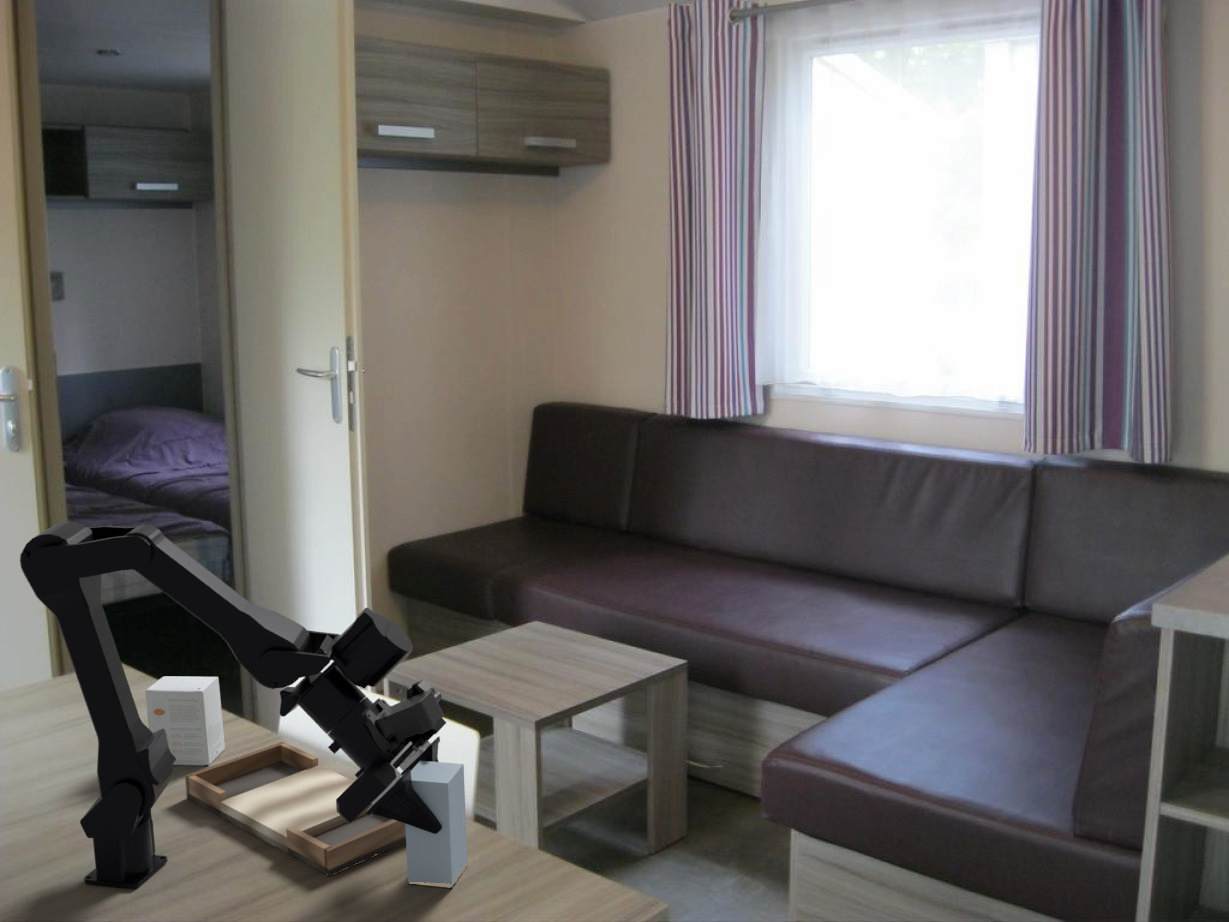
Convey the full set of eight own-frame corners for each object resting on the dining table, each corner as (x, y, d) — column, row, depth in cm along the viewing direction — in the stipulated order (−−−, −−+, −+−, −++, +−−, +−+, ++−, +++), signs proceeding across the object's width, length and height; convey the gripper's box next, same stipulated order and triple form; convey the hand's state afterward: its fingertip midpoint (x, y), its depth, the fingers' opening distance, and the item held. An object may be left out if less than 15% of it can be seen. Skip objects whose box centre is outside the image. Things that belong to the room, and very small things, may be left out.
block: (452, 888, 139) (447, 783, 137) (408, 884, 140) (403, 779, 138) (467, 866, 144) (463, 764, 141) (424, 862, 145) (420, 760, 143)
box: (429, 831, 152) (428, 807, 151) (329, 876, 142) (328, 851, 141) (283, 763, 172) (282, 741, 171) (186, 798, 162) (185, 775, 161)
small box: (225, 749, 177) (220, 676, 175) (209, 767, 171) (203, 690, 169) (169, 748, 177) (163, 674, 176) (150, 765, 172) (144, 689, 170)
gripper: (358, 699, 129) (468, 812, 129) (425, 641, 147) (522, 740, 147) (290, 768, 133) (397, 878, 132) (364, 702, 150) (458, 799, 150)
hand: (447, 819), depth 140 cm, fingers closed on block, 5 cm apart
